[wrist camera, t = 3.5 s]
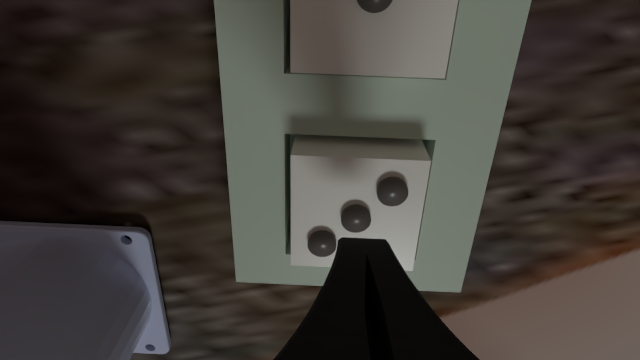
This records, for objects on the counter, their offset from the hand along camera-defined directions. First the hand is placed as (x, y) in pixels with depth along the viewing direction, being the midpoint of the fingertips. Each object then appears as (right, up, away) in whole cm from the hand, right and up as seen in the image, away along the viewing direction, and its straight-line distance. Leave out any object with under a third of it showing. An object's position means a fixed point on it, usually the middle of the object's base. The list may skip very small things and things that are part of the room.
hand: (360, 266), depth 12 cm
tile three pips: (0, +2, +4) cm, 5 cm away
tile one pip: (0, +8, +1) cm, 8 cm away
